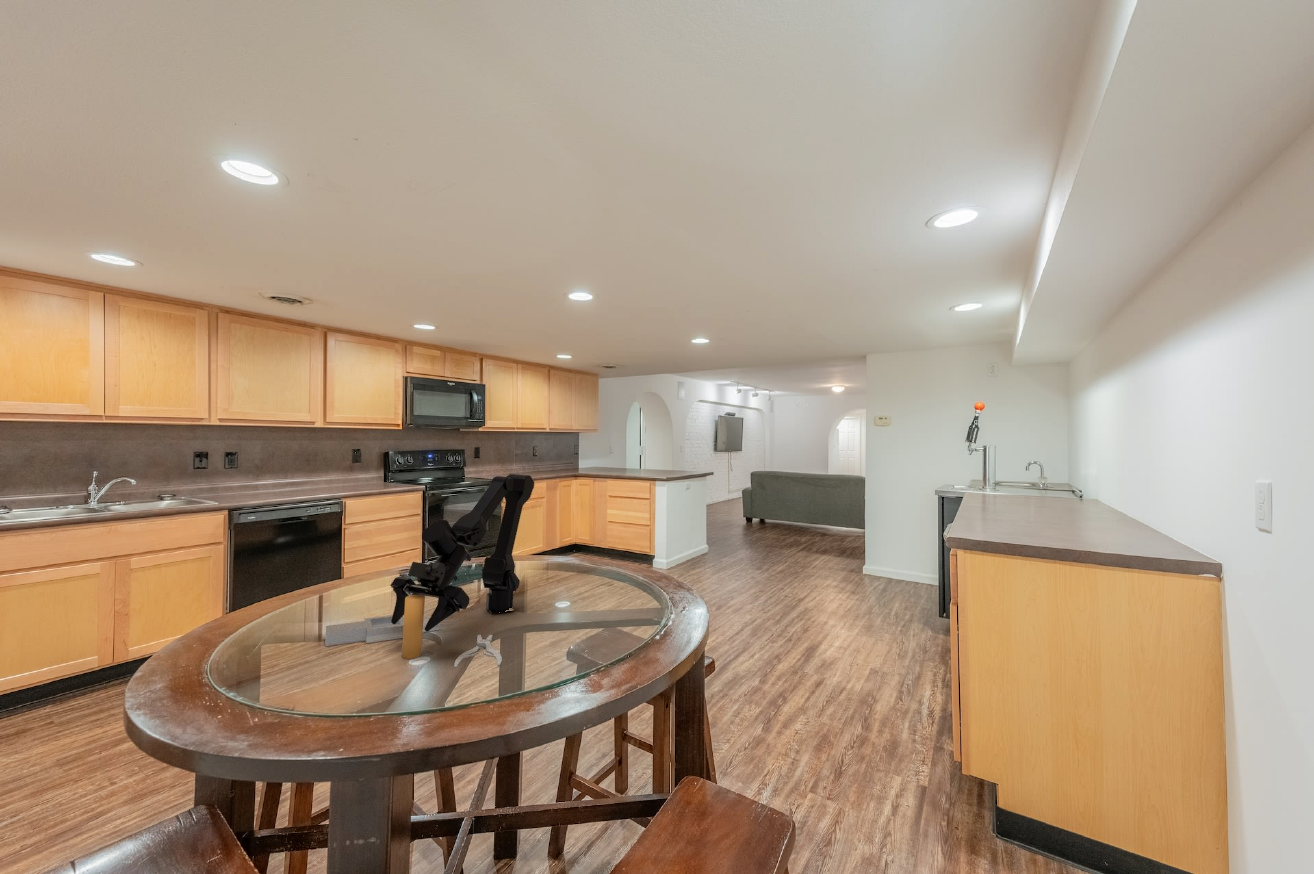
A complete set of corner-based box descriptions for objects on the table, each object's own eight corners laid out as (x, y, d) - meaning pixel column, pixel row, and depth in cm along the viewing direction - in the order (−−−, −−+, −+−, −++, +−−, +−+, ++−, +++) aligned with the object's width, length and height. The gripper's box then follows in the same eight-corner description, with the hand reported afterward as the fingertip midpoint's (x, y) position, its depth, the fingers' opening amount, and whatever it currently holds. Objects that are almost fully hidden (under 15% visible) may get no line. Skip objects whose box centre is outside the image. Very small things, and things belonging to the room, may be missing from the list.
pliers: (453, 662, 111) (464, 634, 125) (452, 669, 111) (463, 641, 125) (501, 660, 113) (506, 633, 127) (500, 667, 113) (505, 640, 127)
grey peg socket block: (434, 621, 136) (435, 609, 136) (441, 632, 129) (441, 620, 129) (325, 635, 122) (325, 623, 122) (325, 649, 115) (326, 636, 115)
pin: (419, 650, 118) (423, 593, 118) (422, 656, 115) (426, 598, 115) (400, 653, 116) (404, 595, 116) (402, 660, 112) (406, 601, 112)
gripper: (399, 542, 122) (356, 602, 111) (464, 552, 116) (426, 616, 106) (421, 568, 129) (383, 626, 119) (484, 578, 124) (449, 640, 113)
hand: (409, 627), depth 114 cm, fingers open, 9 cm apart
